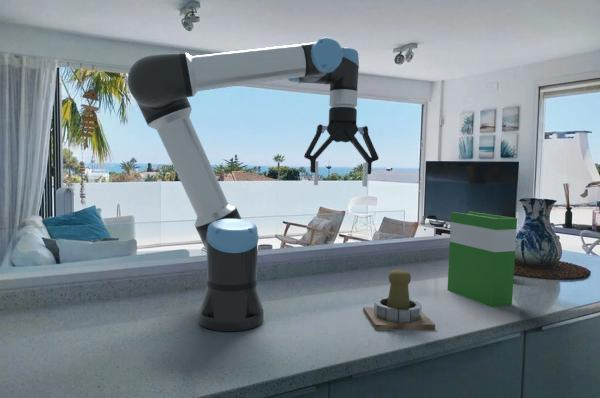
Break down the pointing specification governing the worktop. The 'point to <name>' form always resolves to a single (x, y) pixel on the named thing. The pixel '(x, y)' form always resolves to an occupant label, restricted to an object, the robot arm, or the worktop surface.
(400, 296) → the cork
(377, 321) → the walnut board
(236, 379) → the worktop surface
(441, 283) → the worktop surface
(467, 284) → the cereal box
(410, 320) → the steel collar
